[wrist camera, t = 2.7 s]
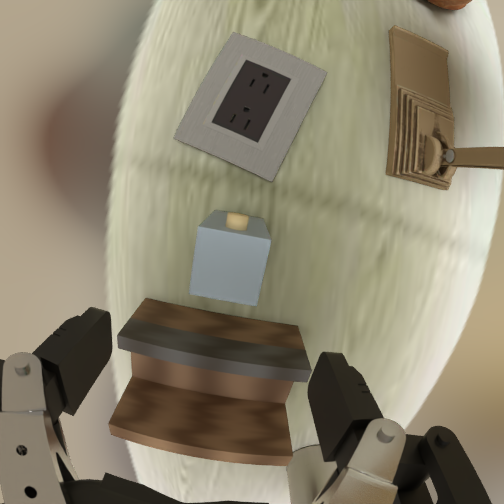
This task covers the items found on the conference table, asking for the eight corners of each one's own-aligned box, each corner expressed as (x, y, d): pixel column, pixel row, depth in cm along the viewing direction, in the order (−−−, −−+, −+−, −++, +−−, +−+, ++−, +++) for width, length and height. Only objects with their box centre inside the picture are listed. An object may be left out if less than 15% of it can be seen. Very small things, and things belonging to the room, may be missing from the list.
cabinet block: (265, 209, 28) (274, 225, 19) (253, 264, 30) (256, 306, 20) (216, 200, 28) (200, 211, 18) (207, 256, 30) (188, 293, 20)
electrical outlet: (234, 40, 24) (233, 30, 21) (322, 78, 25) (328, 71, 23) (178, 140, 27) (172, 137, 24) (270, 181, 28) (272, 182, 26)
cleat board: (297, 325, 32) (321, 403, 19) (277, 388, 34) (287, 465, 22) (145, 298, 31) (96, 363, 18) (144, 364, 33) (111, 434, 21)
